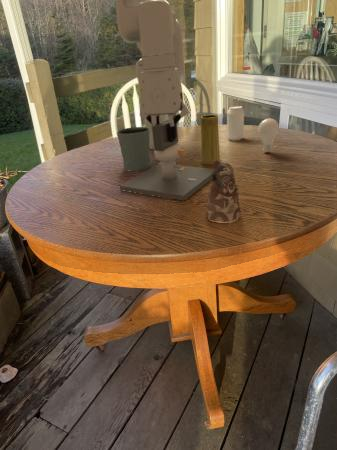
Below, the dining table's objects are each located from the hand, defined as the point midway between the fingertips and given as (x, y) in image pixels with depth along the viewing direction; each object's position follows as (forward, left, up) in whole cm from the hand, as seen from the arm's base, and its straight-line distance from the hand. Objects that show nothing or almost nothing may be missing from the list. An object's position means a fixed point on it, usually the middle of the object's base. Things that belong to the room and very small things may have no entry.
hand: (166, 140), depth 85 cm
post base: (0, 0, -12) cm, 12 cm away
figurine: (+22, -14, -12) cm, 29 cm away
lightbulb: (+17, +34, -12) cm, 40 cm away
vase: (+3, +20, -12) cm, 24 cm away
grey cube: (+1, 0, -4) cm, 5 cm away
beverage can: (0, +49, -12) cm, 50 cm away
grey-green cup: (-18, +9, -12) cm, 23 cm away
